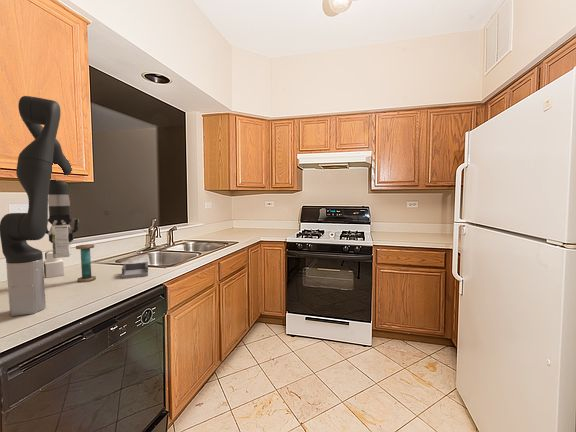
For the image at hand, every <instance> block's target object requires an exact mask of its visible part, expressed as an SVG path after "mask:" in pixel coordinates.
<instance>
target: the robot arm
mask: <svg viewBox="0 0 576 432" xmlns="http://www.w3.org/2000/svg"><path fill="white" fill-rule="evenodd" d="M17 107H18V113H19V116H20V118H21V120H22V121H23V123H24V125H25V126H26V128H27V130H28V131H29V133H30V134H31V136H32V137H33V139H34V140H33V141H32V142H30V143H29V144H28V145H26V146H25V147H24V148H23V149H22V150H21V152H20V153H19V155H18V157H17V164H16V168H15V169H16V170H15V172H16V178H17V180H18V181H19V183H20V185H21V186H22V188H23V189H24V191H25V193H26V196H27V198H28V208H27V209H28V210H27V212H10V213H7V214H5V215H3V217H2V218H1V220H0V244H1V251H2V254H3V256H4V258H5V263H6V264H5V265H6V276H7V277H6V278H7V290H8V305H9V314H10V316H11V317H17V316H24V315H31V314H33V315H34V314H36V313H37V312H39V311H42V310H44V309H45V308H47V305H46V291H45V275H44V264H43V261H44V259H43V258H44V257H43V252H42V250H40V249H38V248H36V247H32V246H31V245H29V244H28V242H27V241H40V240H41V239H43V238H44V237H45V235H46V234H47V235H48V241H49V242H50V243H51V244H53V242H52V226H55V225H67V226H68V225H69V226H68V232H69V242H70V243H72V242H73V241H74V238H75V237H74V233H77V232H78V231H79V226H80V219H79V218H72V216H71V201H70V196H69V184H68V182H66V181H64V180H63V181H62V180H58V181H56V180H57V179H55V180H50V179H51V173H52V165H53V163H54V164H58V165H59V166H60V167H61V168H62V170H63V172H64V173H63V174H64V175H67V176H69V175H70V173H71V174H72V172H73V167H72V168H71V166H72V164H71V162H70V160H67V159H68V158H67V157H66V156H65V154H64V153H63V150H62V146H61V144H60V141H59V140H58V139H57V135H58V130H59V125H60V120H61V113H62V112H61V107H60V104H59V103H58V101H56V100H52V99H49V98H48V99H46V98H42V97H38V96H29V95H23V96H21V97H20V99H19V100H18V106H17ZM66 158H67V159H66ZM69 162H70V163H69ZM70 164H71V165H70ZM71 171H72V172H71ZM71 222H72V224H74V225H73V228H72V226H71V225H70V224H71ZM48 223H49V224H51V226H50V228H48V225H49V224H48Z"/></svg>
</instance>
